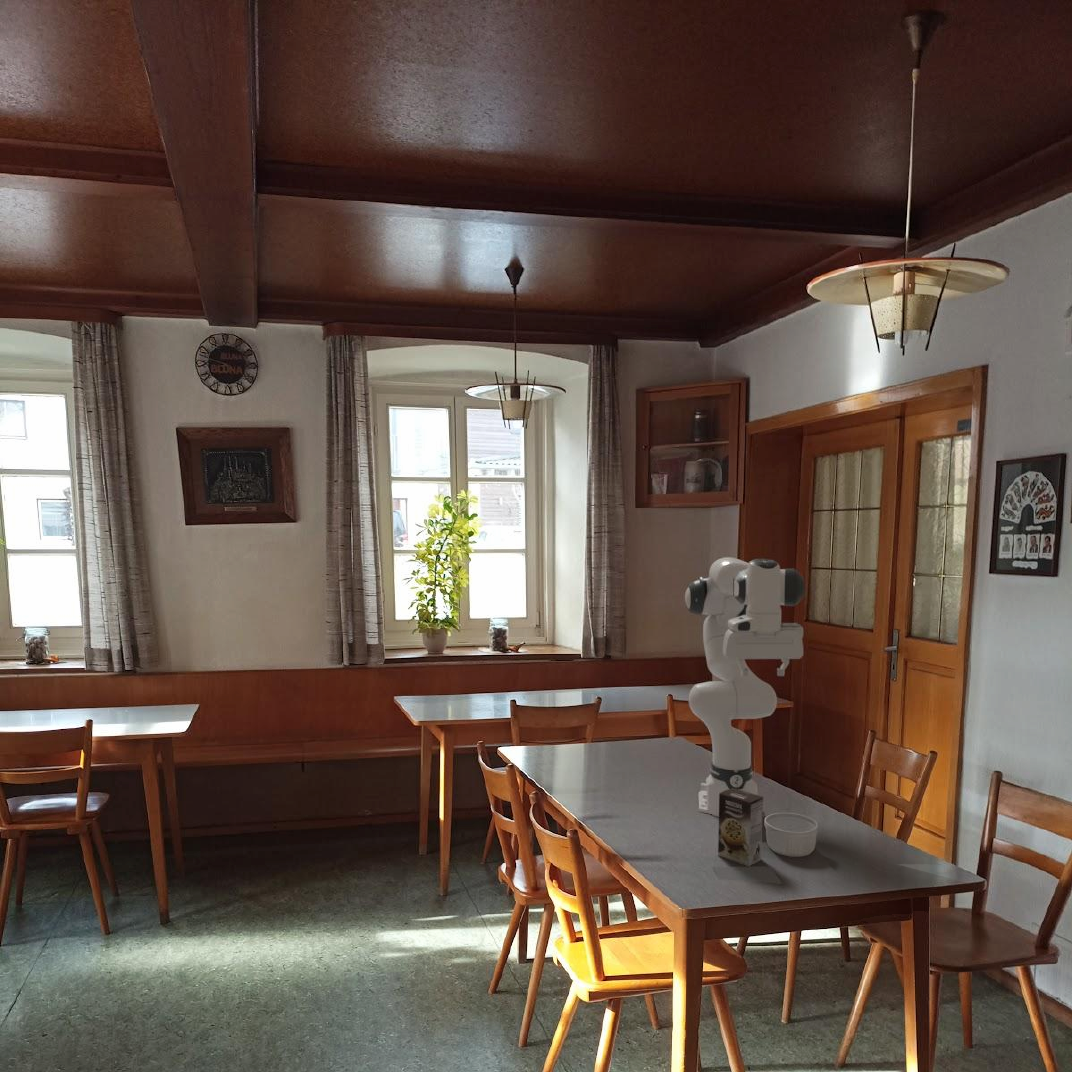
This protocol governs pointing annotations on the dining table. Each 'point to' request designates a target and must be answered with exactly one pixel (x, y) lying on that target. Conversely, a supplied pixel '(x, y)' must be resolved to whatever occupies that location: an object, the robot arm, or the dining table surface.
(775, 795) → the dining table surface
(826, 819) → the dining table surface
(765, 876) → the mat
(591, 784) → the dining table surface
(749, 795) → the dark cardboard box
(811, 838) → the ramekin
